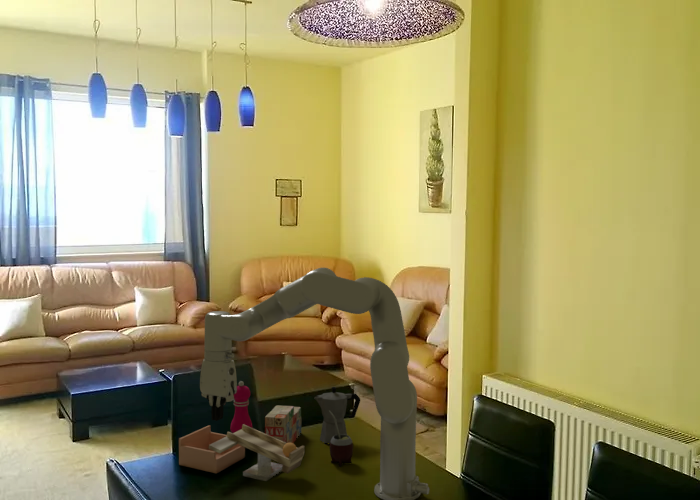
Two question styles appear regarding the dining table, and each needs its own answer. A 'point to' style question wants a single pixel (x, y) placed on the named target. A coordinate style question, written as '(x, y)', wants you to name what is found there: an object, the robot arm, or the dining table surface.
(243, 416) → the pepper mill
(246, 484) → the dining table surface
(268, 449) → the tray
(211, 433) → the pink open box
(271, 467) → the pivot stand
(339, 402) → the coffeepot
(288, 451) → the ball
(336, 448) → the mate gourd
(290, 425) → the stack of blocks
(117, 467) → the dining table surface
